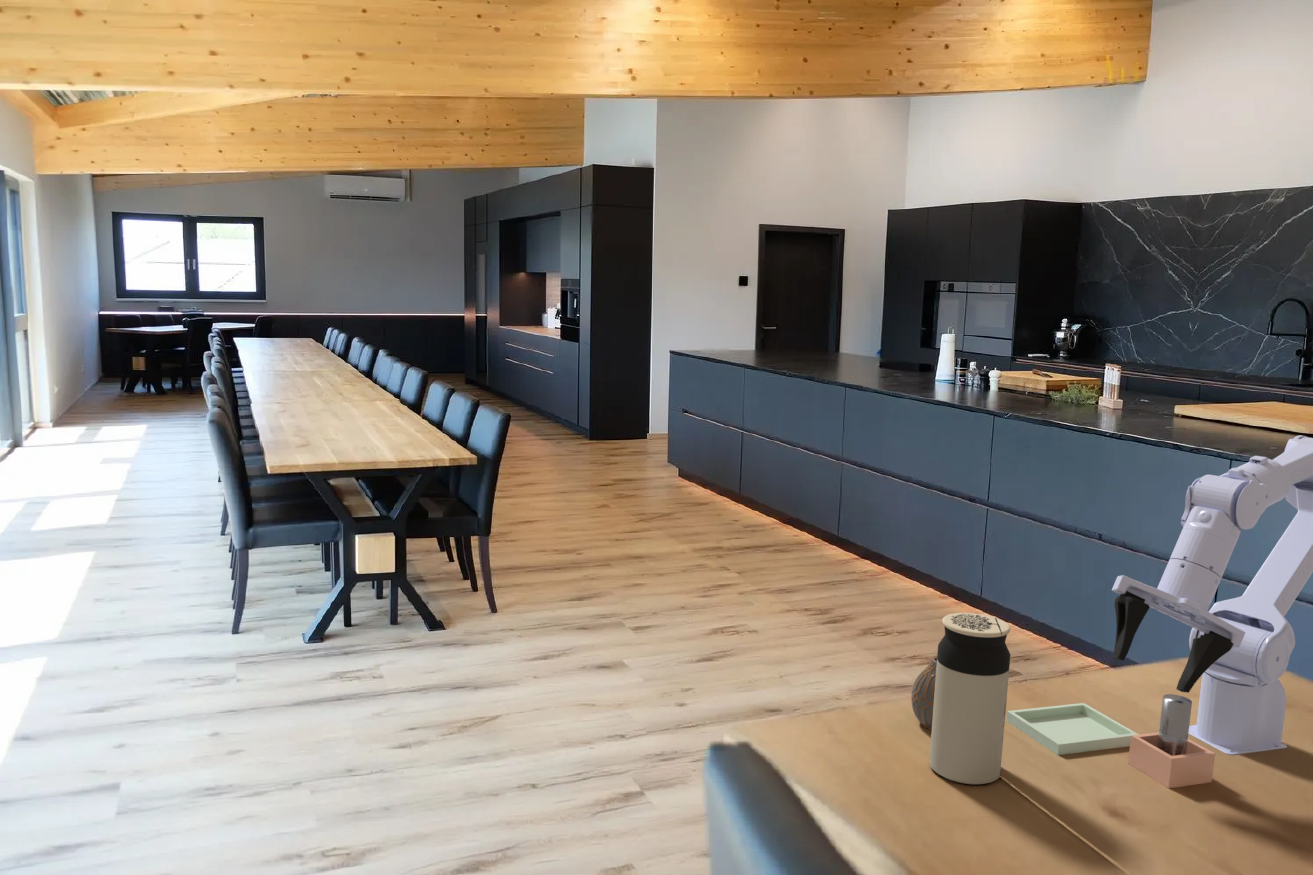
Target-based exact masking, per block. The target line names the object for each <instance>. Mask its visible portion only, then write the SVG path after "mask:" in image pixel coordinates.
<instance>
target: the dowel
mask: <svg viewBox="0 0 1313 875" xmlns="http://www.w3.org/2000/svg"><path fill="white" fill-rule="evenodd" d="M1192 705H1193V702H1192V700H1191V699H1190V698H1189V697H1185V696H1184V695H1179V694H1174V693H1173V694H1172V693H1167V694H1164V695H1162V703H1161V713H1160V721H1159V727H1158V728H1159V729H1158V732H1159V737H1158V746H1157V748H1159V749H1160V750H1162V751H1164V752H1166V753H1167V754H1169V755H1171V756H1176V755H1184V754H1186V750H1187V742H1188V739H1189V734H1188V733H1189V726H1190V724H1191V722H1190V721H1191V713H1192Z"/></svg>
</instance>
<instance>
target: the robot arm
mask: <svg viewBox="0 0 1313 875" xmlns="http://www.w3.org/2000/svg"><path fill="white" fill-rule="evenodd" d="M1284 498H1285V500H1286V502H1288V503H1289V504H1290V505H1291V506H1292V507H1294V508H1295V509H1296V510H1297V513H1296V514H1295V516H1294V517H1293V519H1292V520H1291V522H1290V523H1289V524H1288V526H1287V527H1286V529H1285V531H1284V532H1283V533H1282V535H1281V537H1280V538H1279V539H1278V541H1277V542H1276V544H1275V546H1274V547H1273V549H1272V550H1271V552H1270V553H1269V555H1268V556H1267V558H1266V559H1265V561H1264V562H1263V564H1262V565H1261V567H1260V568H1259V569H1258V571H1257V572H1256V574H1255V576H1254V577H1253V578H1252V580H1251V581H1250V583H1249V584H1248V586H1247V588H1246V589H1245V591H1244V592H1243V594H1242V595H1241V596H1237V597H1234V598H1229V599H1225V600H1220V601H1216V602H1215V603H1214V604H1213V605H1212V606H1211V604H1212V601H1213V599H1214V597H1215V595H1216V592H1217V590H1218V587H1219V585H1220V582H1221V581H1222V578H1223V575H1224V574H1225V570H1226V568H1227V565H1228V564H1229V562H1230V559H1231V556H1232V554H1233V551H1234V549H1235V547H1236V544H1237V542H1238V540H1239V538H1240V536H1241V533H1242V530H1249V529H1250V530H1251V529H1253V528H1254V527H1256V524H1257V523H1258V522H1259V519H1260V517H1261V515H1262V514H1264V513H1265V511H1266V509H1267V508H1268V507H1271V506H1272V505H1274V504H1276V503H1278V502H1281V501H1282V500H1283V499H1284ZM1184 503H1185V504H1184V505H1185V506H1184V512H1183V514H1182V516H1181V518H1180V520H1181V521H1180V525H1181V527H1183V528H1182V529H1181V532H1180V533H1179V537H1178V539H1177V541H1176V543H1175V546H1174V548H1173V550H1172V553H1171V555H1170V557H1169V560H1168V561H1167V564H1166V567H1165V569H1164V571H1163V574H1162V575H1161V578H1160V581H1159V583H1158V586H1157V588H1156V587H1154V586H1150V585H1148V584H1145V583H1143V582H1141V581H1139V580H1136V579H1133V578H1131V577H1129V576H1126V575H1124V574H1122V575H1118V576H1117V577H1116V578H1115V582H1114V584H1113V586H1112V587H1111V588H1112V589H1111V591H1112V592H1114V593H1116V594H1118V595H1119V596H1116V597H1115V599H1114V609H1115V610H1114V611H1115V616H1116V617H1115V619H1116V632H1115V633H1116V634H1115V643H1114V649H1113V654H1112V657H1111V658H1112V659H1113V660H1115V661H1117V662H1119V661H1121V662H1124V661H1125V659H1126V657H1127V656H1128V653H1129V652H1130V650H1131V649H1130V648H1131V646H1132V643H1133V640H1134V638H1135V635H1136V633H1137V631H1138V629H1139V627H1140V625H1141V623H1142V621H1143V620H1144V618H1145V616H1146V615H1147V613H1148V612H1149V609H1153V610H1155V611H1157V612H1159V613H1161V614H1164V615H1166V616H1168V617H1170V618H1172V619H1174V620H1176V621H1178V622H1180V623H1182V624H1185V625H1187V626H1189V627H1191V630H1190V634H1189V638H1188V639H1189V640H1188V644H1189V645H1188V646H1189V650H1190V653H1189V655H1188V659H1187V663H1186V665H1185V667H1184V669H1183V670H1182V672H1181V675H1180V678H1179V680H1178V682H1177V685H1176V688H1175V690H1177V691H1179V692H1180V693H1190V691H1192V688H1193V687H1194V686H1195V685H1196V683H1197V681H1198V680H1199V679H1200V678H1201V682H1200V683H1201V684H1200V692H1199V700H1198V709H1197V717H1196V724H1192V725H1189V733H1188V735H1189V736H1192V737H1194V738H1196V739H1197V740H1199V741H1201V742H1203V743H1205V744H1207V745H1208V746H1211V747H1212V748H1214V749H1216V750H1218V751H1220V752H1221V753H1224V754H1226V755H1228V756H1236V755H1242V754H1243V755H1244V754H1251V753H1257V752H1266V751H1272V750H1280V749H1281V750H1282V749H1287V748H1288V745H1286V744H1284V743H1283V742H1282V740H1283V731H1284V723H1285V717H1286V716H1285V715H1286V708H1287V694H1286V690H1285V688H1284V685H1283V684H1282V682H1281V681H1280V678H1281V677H1282V676H1283V675H1284V674H1285V672H1286V671H1287V668H1288V665H1289V662H1290V657H1291V655H1292V652H1293V650H1294V648H1295V647H1296V646H1295V645H1296V636H1295V632H1294V629H1293V627H1292V625H1291V623H1290V622H1289V621H1288V620H1287V619H1286V617H1285V616H1286V615H1287V613H1288V611H1289V610H1290V608H1291V607H1292V605H1293V604H1294V602H1295V600H1296V599H1297V598H1298V596H1299V595H1300V593H1301V591H1302V590H1303V588H1304V587H1305V585H1306V584H1307V582H1308V581H1309V579H1310V577H1311V576H1312V574H1313V437H1308V436H1306V435H1300V434H1299V435H1296V436H1294V437H1293V438H1289V439H1288V441H1287V443H1286V446H1285V448H1284V451H1283V452H1282V453H1281V454H1279V455H1277V456H1276V457H1274V458H1272V459H1270V458H1268V457H1267V456H1261V455H1253V456H1252V457H1250V458H1249V461H1248V462H1246V463H1244V464H1242V465H1239V466H1237V467H1232V468H1230V469H1229V470H1228V471H1226V472H1225V473H1223V474H1221V475H1214V474H1205V475H1203V476H1201V477H1198V478H1196V479H1194V481H1193V482H1192V483H1191V485H1189V486H1188V487H1187V490H1186V494H1185V502H1184ZM1210 606H1211V608H1210Z"/></svg>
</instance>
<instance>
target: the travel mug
mask: <svg viewBox="0 0 1313 875" xmlns="http://www.w3.org/2000/svg"><path fill="white" fill-rule="evenodd" d="M941 622H942V625H943V627H944V636H943V637H942V639H941V640H940V641H939V643H938V645H937V655H936V657H937V666H936V680H935V693H934V706H933V720H932V729H931V736H930V746H929V747H930V749H929V759H928V760H929V761H928V764H929V766H930V768H931V769H932V770H933V771H934V772H935V773H937V775H940V776H941V777H943V778H945V779H947V780H949V781H953V782H955V783H959V784H963V785H972V786H973V785H975V786H977V785H983V784H984V785H985V784H990V783H992V782H995V781H997V780H998V779H999V778H1000V776H1001V771H1002V770H1001V769H1002V758H1003V757H1002V755H1003V746H1004V737H1005V736H1004V735H1005V724H1006V723H1005V721H1006V714H1007V710H1006V709H1007V698H1008V689H1009V688H1008V687H1009V678H1010V677H1009V676H1010V666H1011V665H1010V664H1011V653H1010V650H1009V648H1008V646H1007V644H1006V640H1007V636H1008V634H1009V633H1010V632H1011V626H1010V625H1009V623H1007V622H1006V621H1004V620H1002V619H1000V618H998V617H994V616H992V615H991V616H990V615H986V614H981V613H973V612H956V613H949V614H946V615H945V616H943V617H942V620H941Z"/></svg>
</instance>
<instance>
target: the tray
mask: <svg viewBox="0 0 1313 875" xmlns="http://www.w3.org/2000/svg"><path fill="white" fill-rule="evenodd" d="M1005 721H1006V722H1007V723H1008V724H1010V725H1012V726H1013V727H1015V728H1016V729H1017V730H1019V731H1021V732H1022V733H1024V734H1025V735H1027V736H1028V737H1030V738H1031V739H1033V740H1035V742H1037V743H1039V744H1040V745H1042V746H1043V747H1045V748H1046V749H1048V750H1049V751H1051V752H1052V753H1054V754H1055V755H1057V756H1061V755H1069V754H1077V753H1087V752H1093V751H1102V750H1108V749H1117V748H1118V749H1119V748H1126V747H1130V740H1131V735H1139V734H1140V733H1138V732H1135V731H1134V730H1132V729H1131V728H1128V727H1126V726H1125V725H1123V724H1121V723H1119V722H1118V721H1116V720H1114V719H1112V718H1111V717H1109V716H1107V715H1106V714H1104V713H1102V712H1101V711H1099V710H1097V709H1095V708H1093V707H1092V706H1090V705H1088V704H1087V703H1084V702H1078V703H1072V704H1071V703H1070V704H1062V705H1049V706H1041V707H1033V708H1024V709H1023V708H1022V709H1014V710H1006V717H1005Z"/></svg>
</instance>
